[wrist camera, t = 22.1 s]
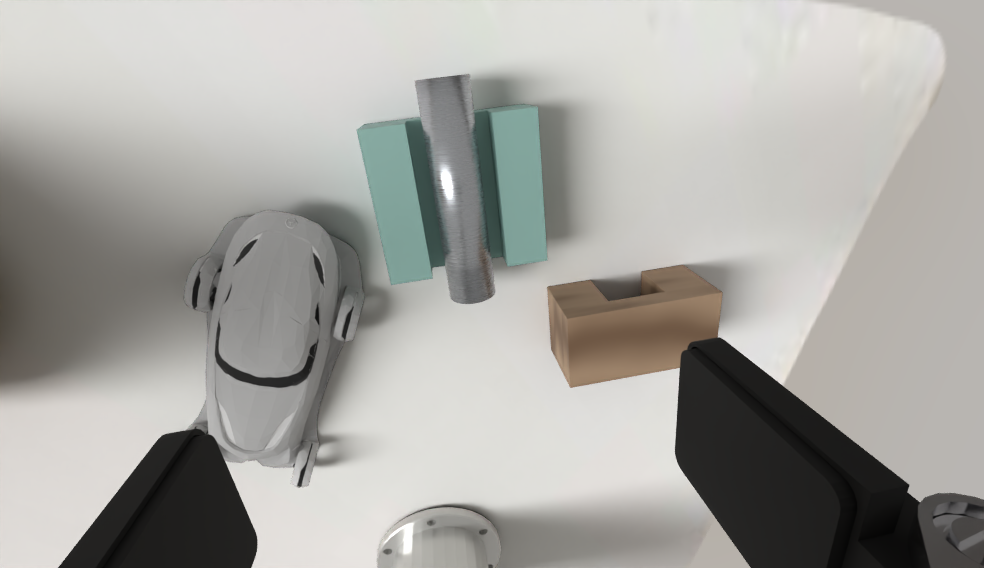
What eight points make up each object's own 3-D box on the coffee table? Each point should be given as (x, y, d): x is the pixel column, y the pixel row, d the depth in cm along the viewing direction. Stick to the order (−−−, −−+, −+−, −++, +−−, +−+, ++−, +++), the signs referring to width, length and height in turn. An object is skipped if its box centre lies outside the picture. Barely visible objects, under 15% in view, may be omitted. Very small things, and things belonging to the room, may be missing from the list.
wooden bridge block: (678, 327, 40) (714, 361, 35) (551, 349, 39) (570, 387, 34) (682, 264, 38) (722, 292, 33) (547, 286, 37) (567, 318, 32)
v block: (534, 241, 35) (547, 260, 32) (394, 263, 34) (391, 284, 31) (523, 103, 31) (537, 106, 27) (364, 124, 30) (356, 130, 27)
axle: (495, 281, 34) (495, 301, 31) (452, 286, 34) (448, 305, 31) (470, 74, 28) (468, 74, 25) (418, 80, 28) (410, 81, 25)
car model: (183, 453, 39) (152, 501, 34) (218, 178, 31) (183, 195, 26) (318, 470, 42) (306, 518, 37) (383, 224, 33) (378, 247, 29)
